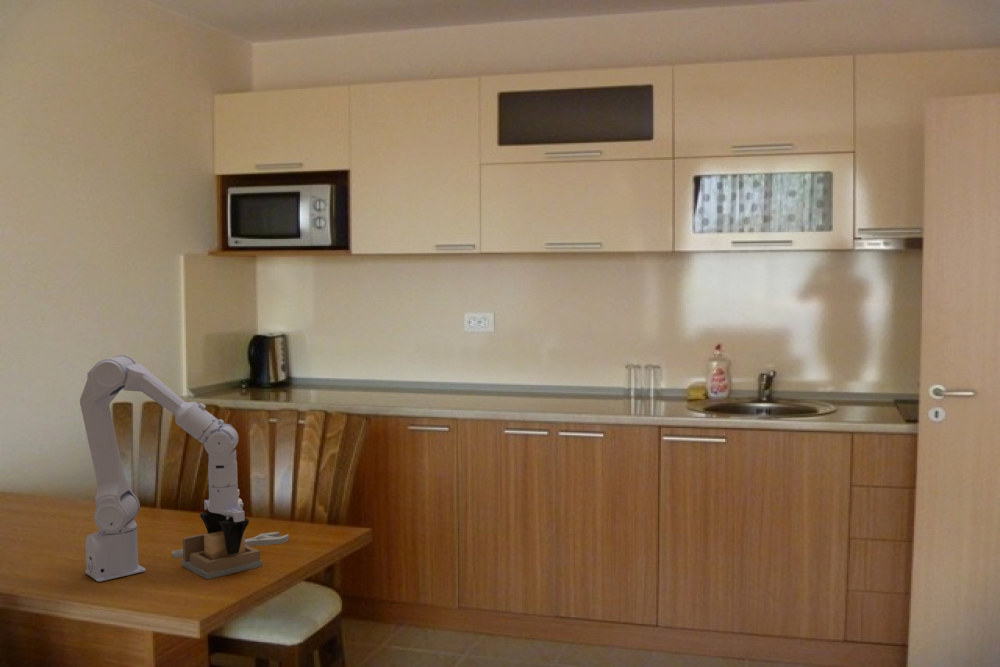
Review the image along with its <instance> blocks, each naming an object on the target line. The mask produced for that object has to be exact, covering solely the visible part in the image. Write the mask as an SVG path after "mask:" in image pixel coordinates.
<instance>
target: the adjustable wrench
mask: <svg viewBox="0 0 1000 667" xmlns="http://www.w3.org/2000/svg"><path fill="white" fill-rule="evenodd" d="M289 540H290V535H289V534H288V533H287V534H285V535H282V536H281V532H280V531H273V532H265V533H259V534H258V535H256V536H254V537H253V536H252V537H249V538H245V544H246V545H248V546H250V547H253V546H252V545H256V546H274V545H273V544H277V545H282V543H283V544H286V543H288V542H289ZM287 541H288V542H287ZM285 542H286V543H285ZM171 557H172V558H176V559H180V558H183V548H182V549H177V550H173V551H171Z"/></svg>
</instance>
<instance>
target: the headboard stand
mask: <svg viewBox="0 0 1000 667" xmlns="http://www.w3.org/2000/svg"><path fill="white" fill-rule="evenodd" d="M205 534H208V532H205V533H200V534H195V535H191V536H190V535H189V536H186V537H182V549H183V557H182V558H183V559H181V565H182V567H184V568H186V570H189V571H191V572H193V573H195V574H196V575H198V576H200V577H202V578H203V579H206V580H210V579H215V578H219V577H222V576H223V577H224V576H227V575H231V574H235V573H241V572H243V571H248V570H252V569H256V568H261V567H263V560H262V559H261V550H259V549H257V548H255V547H253V546H248V545H246V544H245V553H241V554H236V555H232V556H228V557H223V558H219V559H214V560H209V559H207V558H205V554H204V535H205Z"/></svg>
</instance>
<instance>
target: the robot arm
mask: <svg viewBox="0 0 1000 667" xmlns="http://www.w3.org/2000/svg"><path fill="white" fill-rule="evenodd" d="M86 374H87V376H86V377H87V379H86V382H85V385H84V387H83V390H82V392H81V396H80V398H79V405H80V410H81V415H82V419H83V424H84V428H85V433H86V436H87V442H88V448H89V451H90V455H91V460H92V464H93V469H94V473H95V478H96V479H95V480H96V483H97V489H96V490H97V491H96V494H95V498H94V500H95V511H94V515H93V520H94V523H95V525H96V527H97V528H98V531H97V532H94V533H91V534H88V535H87V536H86V538H85V564H86V566H85V567H86V570H85V571H84V572H85V575H87V576H89V577H90V578H92V579H94V580H95V581H96V582H98V583H99V582H104V581H109V580H112V579H117V578H123V577H126V576H131V575H135V574H140V573H144V572H147V569H146V568H145V567H144V566H142V565H141V564H139V547H138V546H139V545H138V544H139V543H138V540H139V539H138V523H137V522H136V519H135V518H136V517H137V516H138V515H139V512H140V508H141V505H140V501H139V499H138V497H137V496H136V495H135V493H134V492H133V490H132V486H131V483H130V482H129V481H128V480H127V479H126V476H125V471H124V467H123V462H122V458H121V454H120V449H119V443H118V440H117V439H118V438H117V435H116V430H115V425H114V421H113V417H112V416H113V415H112V411H111V407H110V406H111V403H112V402H113V401H114V399H115V398H116V397H117V395H118V394H119V393H120V392H121V391H122V390H123V391H125V392H126V391H127V392H128V391H129V392H139V393H140V392H141V393H143V395H146V396H147V397H149V398H150V399H151V400H153V401H154V402H156V403H157V404H158V405H160V406H162V407H163V408H165V409H166V410H167V411H169V412H170V413H172V414H173V415H174V418H175V424H176V425H177V426H179V427H180V428H181V430H184V432H186V433H187V434H189V435H190V436H191V437H193V438H194V439H195V440H197V441H198V442H199V443H201V444H203V447H204V450H205V451H206V453H207V454H208V463H207V469H208V470H207V475H208V499H205V500H203V503H204V506H203V507H204V508H203V510H206V511H205V512H200V514H199V517H200V519H201V521H202V522H203V524H204V525H205V528H206V531H207V532H206V533H208V534H210V533H215V532H220V531H223V533H224V537H225V542H226V549H227V553H228V554H229V555H231V554H236V553H239V549H240V545H241V540H242V536H243V533H244V532H245V530H246V529H247V526H248V525H249V522H250V519H249V518H247V517H246V516H245V510H242V509H241V507H242V508H243V507H244V502H243V501H242V502H238V498H239V496H238V489H239V484H238V479H239V477H238V461H237V456H238V455H237V449H235V448H236V447H237V446H238V443H239V439H240V438H239V433H238V432H237V430H236V429H235V428H234V426H233V425H232V424H230V423H225V421H224V420H223V419H221V418H220V419H218V418H217V417H215V415H213V414H211V413H210V412H209V411H208V410H206V408H207V406H206V405H205V404H204V403H202V402H200V403H197V402H196V401H187V402H186V401H185V400H184V399H183V398H181V397H180V396H179V395H178V394H176V393H175V391H173V390H172V389H171V388H170V387H169V386H167V385H166V384H165V383H163V382H162V380H160V379H159V378H157V377H156V375H154V374H153V373H152V372H151V371H149V370H148V369H147V368H146V367H145V366H144V365H142V364H140V363H139V362H136V361H135V360H134V359H133V358H132V357H130V356H129V355H124V354H123V355H122V354H120V355H116V356H114V357H111V358H104V359H101V360H99V361H97V362H96V363H95V365H94V366H93V367H91V369H89V371H88V372H87V373H86ZM227 517H229V520H226V518H227Z"/></svg>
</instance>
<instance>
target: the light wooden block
mask: <svg viewBox="0 0 1000 667" xmlns="http://www.w3.org/2000/svg"><path fill="white" fill-rule="evenodd" d="M245 536H246V532H245V531H244V533H243V536H242V540H241V545H240V549H239V553H236V554H241V553H245V539H246V537H245ZM204 554H205V558H207V559H209V560H214V559H219V558H223V557H228V556H232V555H236V554H231V555H229V554H228V553H227V549H226V542H225V537H224V533H223V531H220V532H215V533H210V534H205V535H204Z"/></svg>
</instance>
